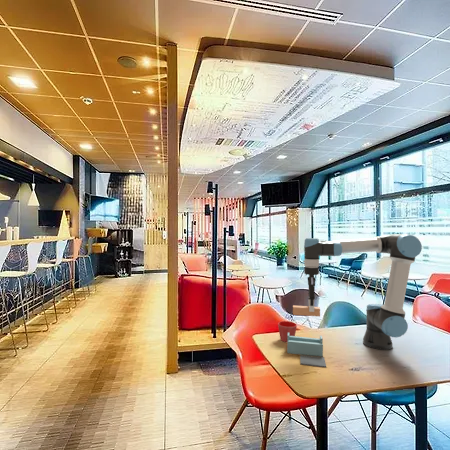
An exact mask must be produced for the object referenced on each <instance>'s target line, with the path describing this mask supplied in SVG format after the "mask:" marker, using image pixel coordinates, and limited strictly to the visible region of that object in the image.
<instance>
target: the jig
mask: <svg viewBox="0 0 450 450" xmlns="http://www.w3.org/2000/svg"><path fill="white" fill-rule="evenodd" d="M286 343H287V345H286V347H287V349H286V350H287V351H286V352H287V354H292V355H293V354H294V355H299V356H300V355H306V356H315V357H324V344H323V343H324V340H323V335H319V338H317V337H316V338H315V337H307V336H297V335H295V336H289V333H288V341H287V342H286Z"/></svg>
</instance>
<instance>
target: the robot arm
mask: <svg viewBox="0 0 450 450" xmlns="http://www.w3.org/2000/svg"><path fill="white" fill-rule="evenodd" d="M303 247H304V249H303V252H304V257H303V258H304V260H303V261H302V262H303V263H304V267H303V268H304V269H303V271H304V272H303V273H304V275H308V276H307V285H308V293H307V294H308V298H307V299H308V306H309V312H314V307H315V299H316V298H315V297H316V295H315V293H316V292H315V291H316V290H315V287H316V281H317V280H316V277H315V276H317V275H319V274H320V268H319V266H320V257H339V256H341V255H342V254H349V253H352V254H353V253H368V252H370V253H372V252H375V253H377V254H388V255H389V259H390V260H391V266H390V272H389V277H388V283H387V288H386V295H385V300H384V304H377V303H370V304H367V305H366V330H365V332H364V336H363V338H362V342H363V344H364V345H365V346H367V347H369V348H371V349H372V348H373V349H376V350H385V351H387V350H391V349H393V340H392V338H401V337H402V336H404V335H405V334H406V333H407V331H408V328H409V325H408V322H407V320H406V319H405V318H406V317H405V316H406V311H405V310H404V309H403V308H404V304H405V297H406V291H407V286H408V281H409V275H410V268H411V265H412V264H413V263H414V262H416V261H415V260H416V257H418V256H419V255H420V254H421V253H422V249H423V248H422V247H423V246H422V242H421V241H420V239H419V238H418V237H417V236H415V235H413V234H407V233H403V234H402V233H393V234H387V235H380V236H377V235H376V236H375V237H374V238H373V237H372V238H359V239H358V238H357V239H356V238H355V239H340V240H339V239H338V240H319V238H316V237H315V238H314V237H313V238H310V237H308V238H305V239H304V245H303Z"/></svg>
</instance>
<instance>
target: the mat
mask: <svg viewBox="0 0 450 450" xmlns="http://www.w3.org/2000/svg"><path fill="white" fill-rule="evenodd" d="M299 362H300V365H302V366H309V367H319V368H327V363H326V360H325V357H324V356H323V357H319V356H309V355H300V354H299Z"/></svg>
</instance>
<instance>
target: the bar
mask: <svg viewBox="0 0 450 450" xmlns="http://www.w3.org/2000/svg"><path fill="white" fill-rule="evenodd" d="M292 315H294V316H308V317H319V318H320V317H321V308H320V306H314V312H309V305H308V306H307V305H294V304H293V305H292Z"/></svg>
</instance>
